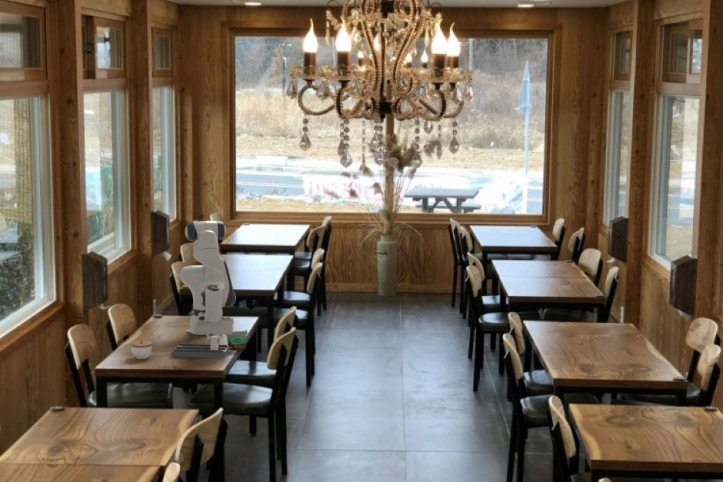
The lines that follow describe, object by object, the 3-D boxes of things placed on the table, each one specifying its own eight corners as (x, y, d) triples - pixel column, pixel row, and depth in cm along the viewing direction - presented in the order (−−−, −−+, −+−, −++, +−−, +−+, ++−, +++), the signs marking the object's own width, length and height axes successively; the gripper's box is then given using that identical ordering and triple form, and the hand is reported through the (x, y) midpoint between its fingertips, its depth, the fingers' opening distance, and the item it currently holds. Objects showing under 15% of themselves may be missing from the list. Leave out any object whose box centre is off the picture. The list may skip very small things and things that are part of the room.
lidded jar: (149, 354, 563) (148, 336, 562) (154, 359, 554) (154, 341, 552) (128, 356, 558) (128, 338, 557) (134, 361, 549) (134, 343, 547)
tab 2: (210, 349, 561) (210, 339, 561) (218, 349, 561) (218, 339, 560) (209, 350, 558) (209, 340, 558) (217, 351, 558) (217, 340, 557)
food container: (229, 352, 570) (229, 333, 568) (225, 349, 575) (225, 331, 574) (251, 349, 576) (251, 331, 574) (247, 347, 581) (247, 329, 579)
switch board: (177, 350, 571) (177, 343, 570) (229, 352, 570) (229, 344, 569) (171, 356, 558) (171, 349, 557) (224, 358, 557) (224, 350, 556)
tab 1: (211, 346, 568) (210, 336, 567) (218, 346, 568) (218, 336, 567) (209, 347, 565) (209, 337, 564) (217, 348, 565) (217, 337, 564)
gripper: (234, 315, 566) (234, 341, 569) (196, 314, 567) (196, 340, 569) (232, 318, 560) (232, 344, 562) (193, 317, 561) (194, 343, 563)
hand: (214, 342), depth 566 cm, fingers closed on tab 1, 3 cm apart
